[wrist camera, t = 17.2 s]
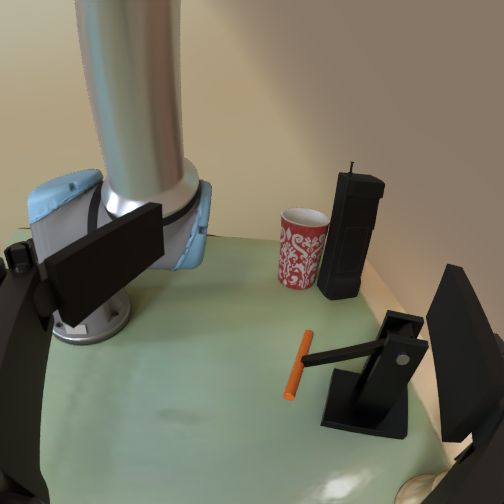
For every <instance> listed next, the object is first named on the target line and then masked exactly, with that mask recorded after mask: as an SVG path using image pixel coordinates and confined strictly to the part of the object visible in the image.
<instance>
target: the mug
mask: <svg viewBox="0 0 504 504" xmlns="http://www.w3.org/2000/svg"><path fill="white" fill-rule="evenodd" d="M281 218H282V220H281V221H282V222H281V238H280V239H281V240H280V255H279V272H278V278H279V281H280V282H281V283H282V284H283V285H285V286H287V287H289V288H292V289H306V288H309V287H311V286H312V285H313V283H314V281H315V277H316V273H317V269H318V266H319V262H320V258H321V254H322V250H323V246H324V243H325V238H326V236H327V232H328V227H329V224H330V221H331V219H330V218H329V217H328V216H327V215H325V214H323V213H321V212H318V211H316V210H312V209H307V208H290V209H286V210H284V211H282V213H281Z"/></svg>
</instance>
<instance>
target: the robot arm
mask: <svg viewBox="0 0 504 504" xmlns="http://www.w3.org/2000/svg"><path fill="white" fill-rule="evenodd" d="M180 4H181V0H75V7H76V18H77V27H78V35H79V42H80V49H81V56H82V63H83V68H84V74H85V80H86V85H87V91H88V96H89V100H90V104H91V110H92V114H93V118H94V122H95V127H96V131H97V135H98V139H99V144H100V147H101V151H102V155H103V159H104V162H105V166H106V169H107V173H108V175H107V177H106V178H105V180H104V181H102V179H103V175H102V173H101V171H100V170H98V169H96V170H95V169H88V170H82V171H77V172H73V173H70V174H66V175H64V176H61V177H58V178H55V179H52V180H50V181H48V182H46V183H43V184H41V185H40V186H38V187H36V188H35V189H34V190H33V191H32V192H31V193H30V195H29V197H28V202H27V204H28V213H29V225H30V228H31V233H32V237H33V241H34V245H35V249H36V253H37V257H38V261H39V264H37V260H36V257H35V253H34V248H33V244H32V243H31V242H28V241H22V242H18V243H15V244H12V245H11V246H9V247H7V248H6V249H5V250H4V254H5V257H6V261H7V264H8V267H9V269H6V267H5V264H4V260H3V259H2V258H1V257H0V504H50V498H49V492H48V488H47V485H46V482H45V480H44V478H43V476H42V474H41V471H40V425H41V410H42V399H43V389H44V381H45V373H46V366H47V360H48V354H49V348H50V342H51V337H52V334H53V335H54V336H55V337H56V338H57V339H59V340H61V341H63V342H65V343H68V344H73V345H88V344H94V343H98V342H101V341H103V340H106V339H108V338H110V337H112V336H113V335H115V334H116V333H118V332H119V331H120V330H121V329H122V328H123V327H124V326H125V325H126V323H127V322H128V320H129V317H130V314H131V306H130V301H129V297H128V295H127V292H126V291H125V289H124V286H126V285H127V284H128V283H129V282H131V281H132V280H133V279H134V278H136V277H137V276H138V275H139V274H141V273H142V272H143V271H144V270H146V269H164V270H170V271H176V270H178V269H195V268H197V267H198V266H199V265H200V264H201V263H202V260H203V257H204V251H205V245H206V237H207V228H208V221H209V214H210V205H211V194H212V186H211V184H210V183H209V182H206V181H203V180H199V177H198V172H197V169H196V168H195V166H194V165H193V164H192V163H191V162H190V161H189V160H188V159H186V158H185V157H184V151H183V132H182V112H181V81H180V80H181V79H180ZM426 320H427V325H428V329H429V335H430V340H431V346H432V352H433V358H434V365H435V372H436V379H437V387H438V396H439V407H440V419H441V435H442V442H456V443H461V442H462V441H463V440H464V439H465V438H466V437H467V436H468V435H469V434H470V433H471V432H472V440H473V442H472V443H471V444H470V445H469V446H468V447H467V448H466V449H465V450H463V451H462V452H461V453H460V454H459V455H458V456H457V457H456V458H454V460H455V461H456V460H457V461H456V463H455V464H454V465H453V466H452V468H451V469H450V470H449V471H448V473H447V474H446V475H445V476H444V477H443V479H442V480H441V481H440V482H439V483H438V485H437V486H436V487H435V488H434V489H433V490H432V491H431V492H430V494H429V495H428V496H427V497H426V498H425V499H424V500H423V501H422V502H421V503H420V504H504V342H503V340H502V339H501V338H500V336H499V335H498V334H495V333H493V331H492V329H491V327H490V324H489V322H488V320H487V317H486V315H485V313H484V311H483V309H482V306H481V304H480V302H479V300H478V298H477V296H476V294H475V292H474V289H473V287H472V285H471V283H470V282H469V280H468V278H467V276H466V274H465V272H464V270H463V268H462V267H458V266H455V265H451V264H447V266H446V269H445V271H444V274H443V276H442V279H441V282H440V284H439V287H438V289H437V292H436V294H435V296H434V299H433V302H432V304H431V306H430V309H429V311H428V313H427V315H426Z"/></svg>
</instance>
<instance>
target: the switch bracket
mask: <svg viewBox="0 0 504 504" xmlns="http://www.w3.org/2000/svg"><path fill="white" fill-rule="evenodd" d="M409 323H411V324H412V328H413V332H414V337H415V338H410V337H405V336H400V335H395V334H390V333H389V334H388V336H387V329H390V328H394V327H398V326H401V325H405V324H409ZM423 324H424V319H423V317H419V316H413V315H409V314H405V313H400V312H395V311H391V310H387V313H386V316H385V318H384V321H383V323H382V326H381V328H380V331H379V333H378V336H377V338H376V340H380V339H384V338H386V341H385V343H384V345H383V347H382V349H381V352H380V353H377V354H372V355H369V357H368V359H367V361H366V363H365V365H364V368H363V370H362V372H361V374H359V373H354V372H349V371H345V370H340V369H336V368H334V370H333V373H332V377H331V382H330V386H329V391H328V395H327V400H326V404H325V409H324V413H323V417H322V421H321V426H325V427H329V428H334V429H339V430H344V431H349V432H355V433H361V434H367V435H373V436H380V437H387V438H394V439H404V438H405V437H406V436H407V433H408V391H407V384H408V382H409V381H410V379H411V377H412V376H413V374H414V372H415V371H416V369H417V367H418V366H419V364H420V362H421V360H422V359H423V357H424V355H425V353H426V351H427V350H428V348H429V346H428V341H425V340H420V339H417V337H418V335H419V333H420V330H421V329H422V326H423ZM376 340H375V341H376Z"/></svg>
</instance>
